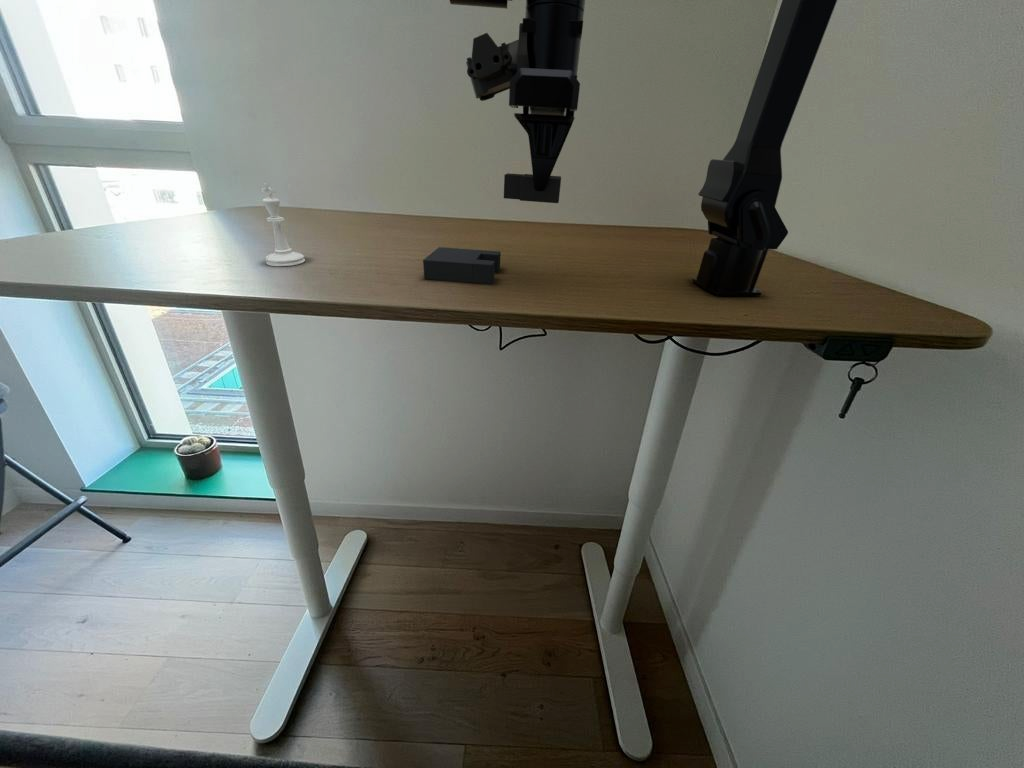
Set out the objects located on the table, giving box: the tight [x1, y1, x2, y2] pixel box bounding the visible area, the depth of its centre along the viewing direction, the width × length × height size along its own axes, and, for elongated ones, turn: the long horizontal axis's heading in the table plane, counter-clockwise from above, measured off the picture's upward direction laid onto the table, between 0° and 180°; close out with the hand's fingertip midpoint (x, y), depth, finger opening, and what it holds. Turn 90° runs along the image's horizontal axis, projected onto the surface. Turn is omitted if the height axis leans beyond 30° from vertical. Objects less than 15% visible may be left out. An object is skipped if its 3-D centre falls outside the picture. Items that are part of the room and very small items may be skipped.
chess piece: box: [260, 182, 306, 267], centre depth 54 cm, size 5×5×10 cm
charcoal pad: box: [422, 246, 502, 285], centre depth 54 cm, size 9×8×2 cm
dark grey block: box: [503, 172, 562, 204], centre depth 47 cm, size 6×4×2 cm
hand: (540, 188), depth 47 cm, fingers closed on dark grey block, 4 cm apart
